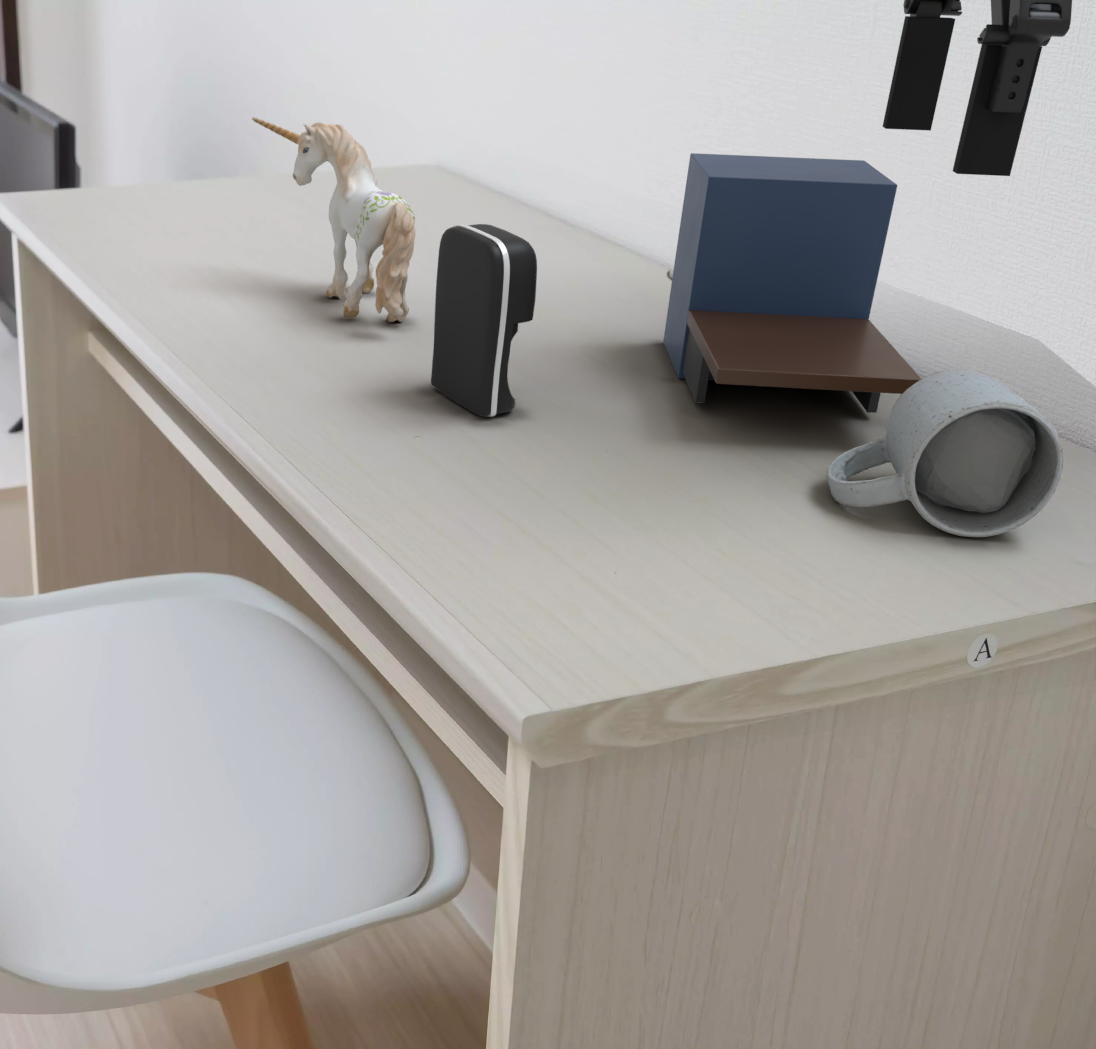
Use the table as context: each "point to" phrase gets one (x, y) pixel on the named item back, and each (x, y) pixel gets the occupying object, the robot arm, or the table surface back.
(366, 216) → the unicorn figurine
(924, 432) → the ceramic mug
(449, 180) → the table surface
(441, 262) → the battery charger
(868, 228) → the blue chair shape
